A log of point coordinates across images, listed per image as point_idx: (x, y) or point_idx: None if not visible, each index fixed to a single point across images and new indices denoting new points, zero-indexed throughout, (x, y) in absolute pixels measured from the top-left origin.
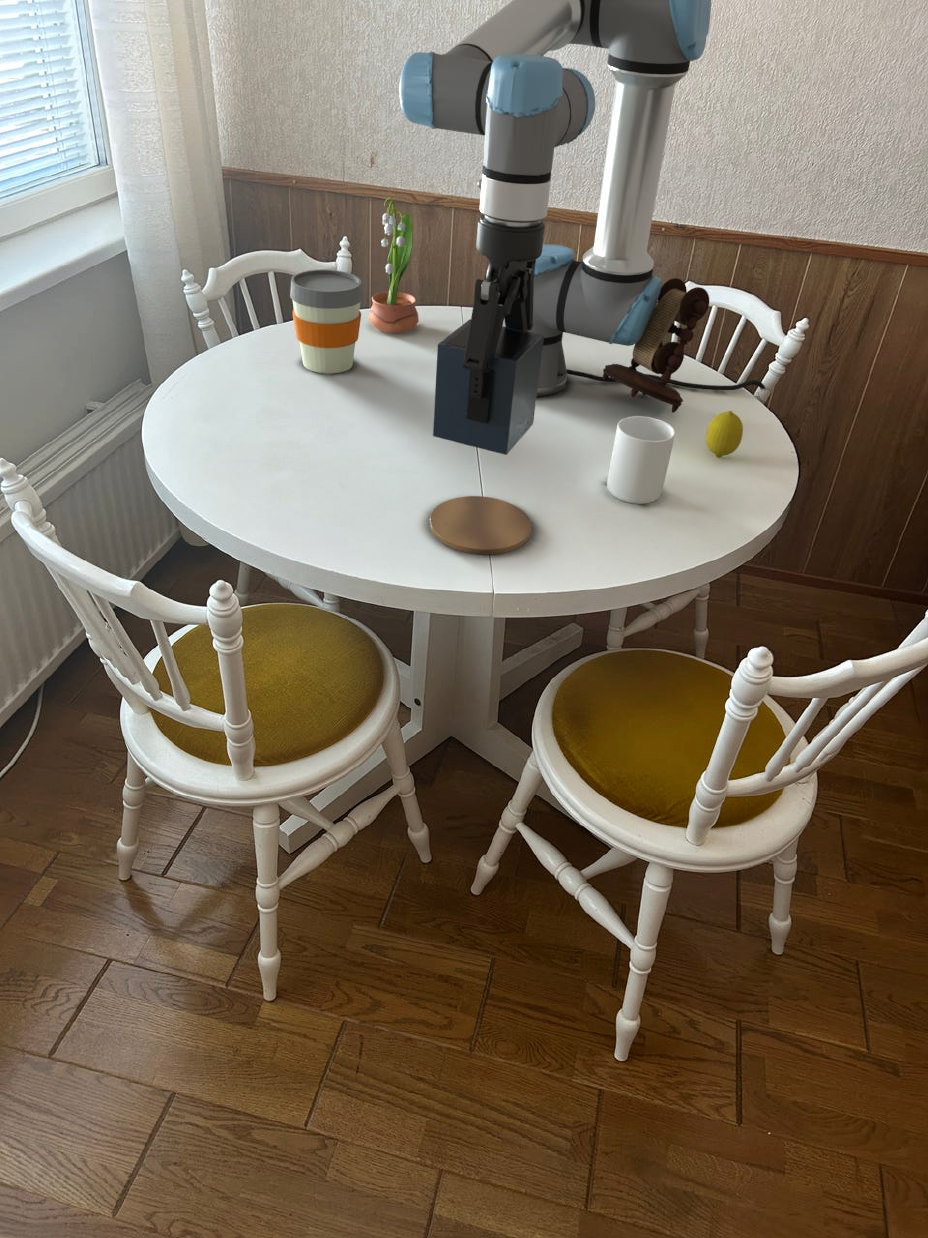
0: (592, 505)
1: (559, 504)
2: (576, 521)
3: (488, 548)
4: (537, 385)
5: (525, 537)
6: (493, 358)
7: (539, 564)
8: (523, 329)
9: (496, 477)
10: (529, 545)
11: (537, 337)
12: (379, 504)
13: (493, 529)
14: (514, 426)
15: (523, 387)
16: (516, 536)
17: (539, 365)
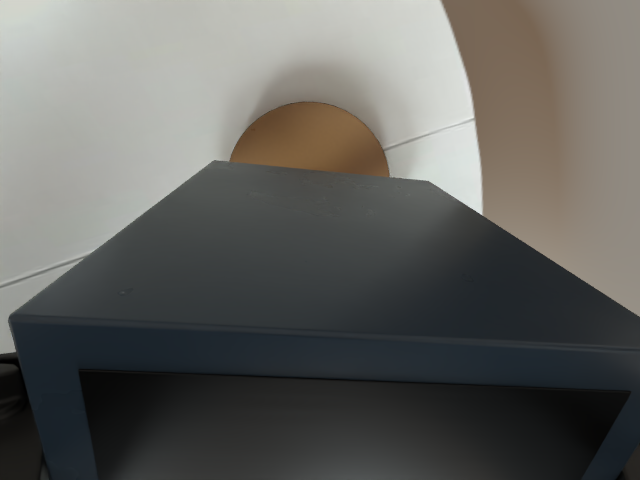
0: (136, 2)
1: (171, 73)
2: (215, 25)
3: (382, 155)
4: (183, 190)
5: (328, 105)
6: (626, 465)
7: (383, 63)
8: (37, 470)
9: (143, 206)
10: (332, 95)
11: (117, 349)
12: None
13: (324, 163)
14: (408, 193)
15: (386, 229)
16: (330, 121)
17: (155, 221)
